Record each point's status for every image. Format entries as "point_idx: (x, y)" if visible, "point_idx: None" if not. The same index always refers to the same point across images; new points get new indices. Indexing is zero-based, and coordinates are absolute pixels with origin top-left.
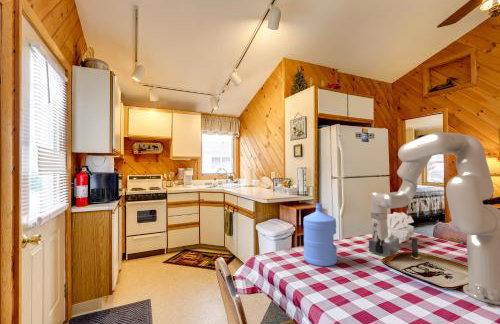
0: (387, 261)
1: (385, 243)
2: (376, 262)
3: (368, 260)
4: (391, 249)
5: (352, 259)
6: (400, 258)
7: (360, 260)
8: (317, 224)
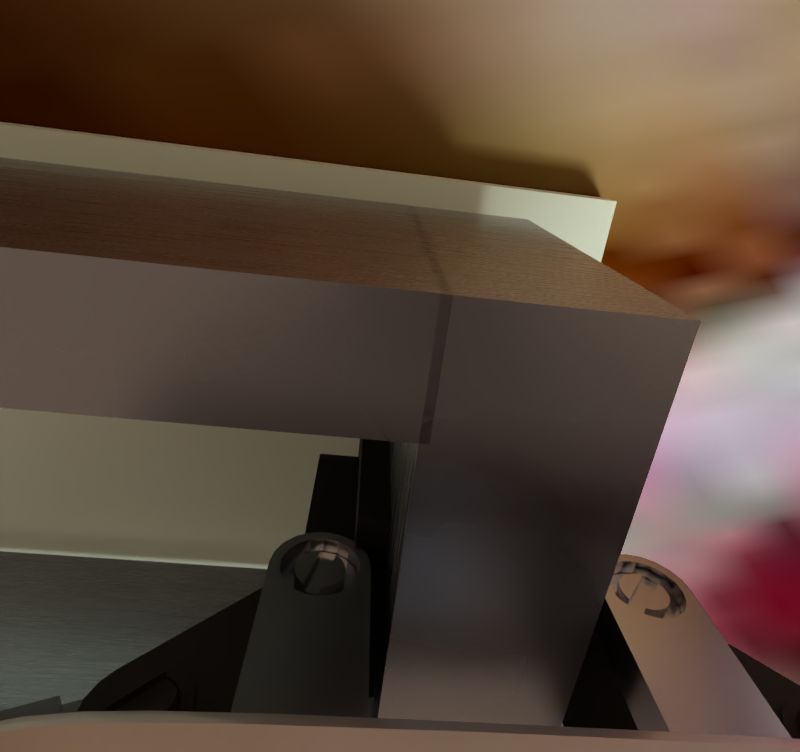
0: (627, 244)
1: (626, 508)
2: (788, 397)
3: (738, 517)
4: (437, 233)
5: (796, 680)
6: (216, 20)
7: (793, 599)
8: None
